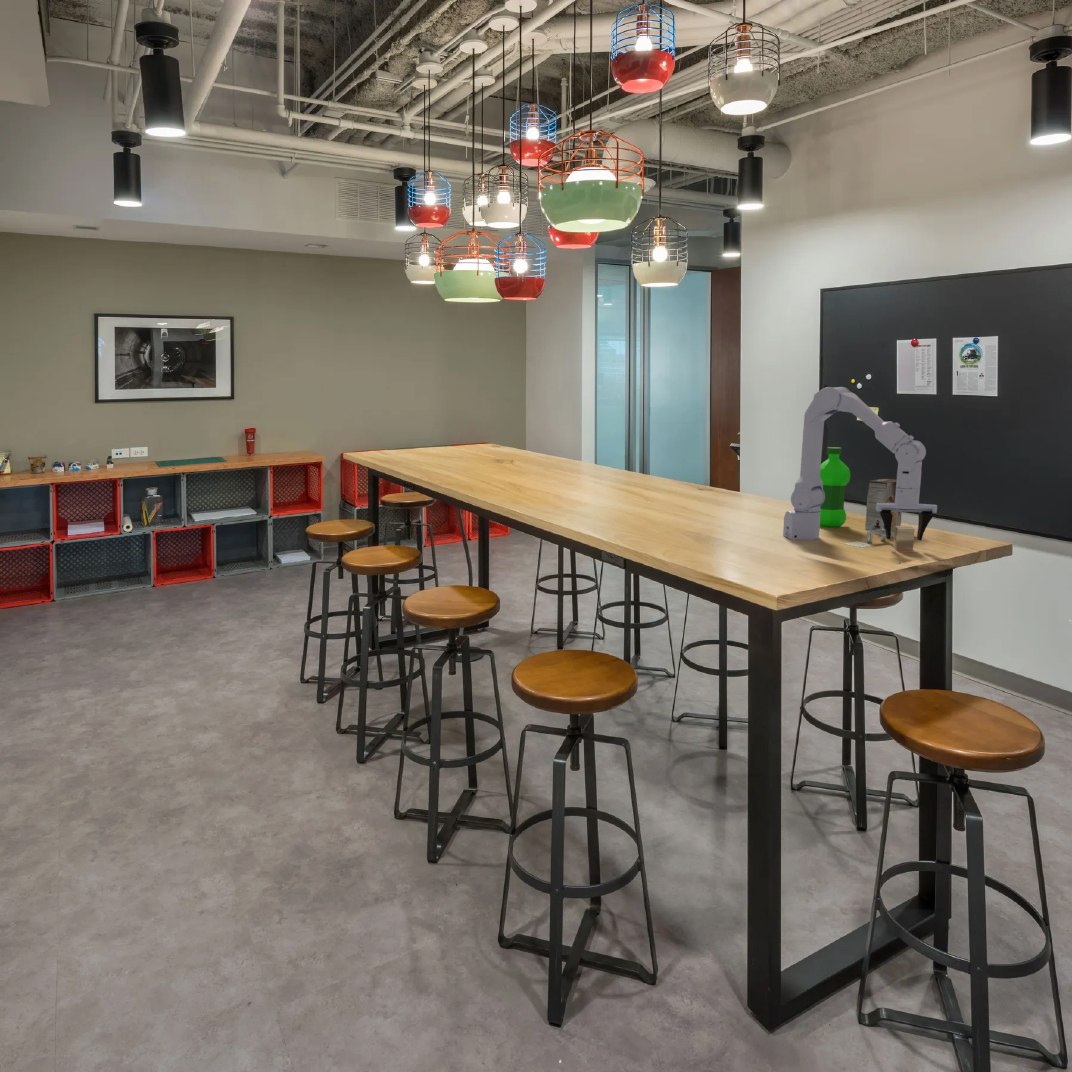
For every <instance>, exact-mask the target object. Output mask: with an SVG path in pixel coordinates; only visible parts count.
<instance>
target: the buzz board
mask: <svg viewBox="0 0 1072 1072" xmlns="http://www.w3.org/2000/svg"><path fill="white" fill-rule="evenodd" d="M843 544H844V545H847V546H853V547H856V548H857V547H858V548H866V547H867V548H868V547H873V546H876V544H873V543H871V544H868V543H866V542H862V541H853V542H852V541H851V542H845V543H843ZM887 549H889V550H891V551H894V552H895V553H919V551H918V550H917V549H914V548H913V552H912V551H896V550H895V549H894V548H893V546H892V547H889V546H888V547H887Z"/></svg>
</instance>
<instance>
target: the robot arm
mask: <svg viewBox="0 0 1072 1072" xmlns="http://www.w3.org/2000/svg"><path fill="white" fill-rule="evenodd" d="M838 412H843V413H844V412H845V413H850V414H852V415H853V416H855V417H856V418H857V419H859V420H860V421H861V422H862V423H864V424H865V425H866V426H868V427H870V429H872V430H873V431H874V437H875V439H876V440H877V441H878V442H879V443H881V444H882V445H883V446H884V447H885V448H886V449H887V450H889V452H891V453H892V454H894V456H895V459H896V461H897V472H896V480H897V483H896V495H895V503H876V511H880V515H881V517H882V520H883V523H884V526H885V531H886V540H891V538H892V537H891V523H892V517H893V515H892V512H891V511H897V512H903V513H904V512H905V513H907V512H908V513H910V512H911V513H918V524H917V525H918V526H917V532H916V539H917V540H919V541H922V539H923V536H924V533H925V531H926V529H927V526H928V525H929V524H930V521H931V520H932V519H933V517H934V514H937V513H938V512H937V511H938V505H937V504H929V503H928V504H927V503H920V493H921V491H920V490H921V480H922V465H923V460H924V459H925V457H926V455H927V449H926V447H925V445H924V444H923V443H922V442H921V441H919V440H914V438H915V437H914V436H913V435H909V434H908V433H906V432H905V431H904V430H903V429H901V425H900V423H898V422H894V421H884V420H883V419H882V418H881V417H880V416H879V415H878V414H876V413H875V411H873V410H872V409H871V408H870V406H868V405H867V404H866V403H865V402H864V401H863V400H862V399H861V398H860V397H859V396H858V395H857V394H856V393H853V392H851V391H850V389H848V388H847V387H844V386H837V387H835V386H834V387H832V386H831V387H830V386H827V387H823V388H822V389H820V390H819V391H817V392H816V393H814V395H813V399H812V401H811V402H810V404H809V405H808V407H807V409H806V410H805V413H804V418H803V430H802V444H801V445H802V446H801V457H800V458H801V459H800V470H799V471H800V473H799V476H798V477H799V478H798V479H797V480H796V482H795V484H794V490H793V492H792V493H791V496H790V502H791V505H792V507H793V509H792V510H787V511H786V512H785V513H784V516H783V517H784V518H783V530H782V531H783V532H782V533H783V534H782V535H783V537H785V538H786V539H790V540H818V539H820V528H821V527H820V511H821V509H820V505H822V504H823V502H824V500H825V493H824V491H823V482H822V480H821V478H820V468H821V464H822V455H823V454H822V453H823V452H822V451H823V439H824V429H825V428H824V426H825V421H826V420H827V419H829V418H830V417H831V416H833V415H834V414H835V413H838Z"/></svg>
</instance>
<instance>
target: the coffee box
mask: <svg viewBox="0 0 1072 1072" xmlns="http://www.w3.org/2000/svg"><path fill="white" fill-rule="evenodd" d="M896 483H897V479H893V478H892V479H891V478H881V479H880V478H879V479H873V480H868V483H867V495H866V496H867V498H866V510H865V511H866V513H865V524H864V525H865V528H864V530H865V531H871V530H879V529H885V526H884V523H883V520H882V517H881V515H880V511H876V503H895V495H896ZM891 512H892V515H893V517H892V523H891V532H895V526H902V525H901V524H902V515H903V514H902V512H897V511H891Z"/></svg>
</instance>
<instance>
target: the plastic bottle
mask: <svg viewBox="0 0 1072 1072" xmlns="http://www.w3.org/2000/svg"><path fill="white" fill-rule="evenodd" d="M826 449H827V451H826V454H827V455H828V458H827V459H826V460H825V461H823V462H821V468H820V478H821V480H822V482H823V491H824V493H825V500H824V502H823V504H822V505H820V509H821V511H820V527H819V528H841V527H842V526H843V525H844V524H845V523H846V521H847V513H846V510H845V508H844V507H845V493H846V486H847V484H849V483H850V479H851V471H850V468H849V467H848V466H847V465H846V463H844V462H843V461H842V460H841V459H840V455H842V452H843V451H842V449H843V448H842V447H839V446H838V447H835V446H833V447H831V446H827V447H826Z"/></svg>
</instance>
